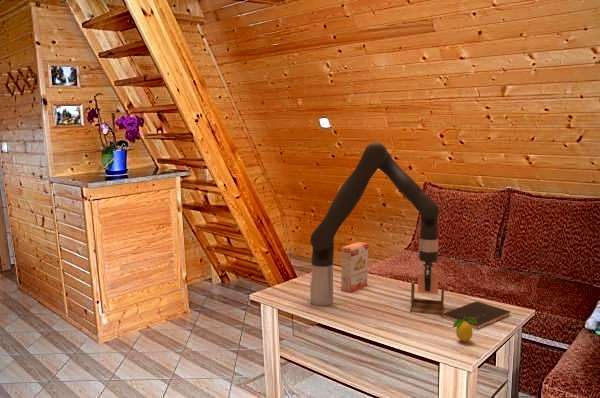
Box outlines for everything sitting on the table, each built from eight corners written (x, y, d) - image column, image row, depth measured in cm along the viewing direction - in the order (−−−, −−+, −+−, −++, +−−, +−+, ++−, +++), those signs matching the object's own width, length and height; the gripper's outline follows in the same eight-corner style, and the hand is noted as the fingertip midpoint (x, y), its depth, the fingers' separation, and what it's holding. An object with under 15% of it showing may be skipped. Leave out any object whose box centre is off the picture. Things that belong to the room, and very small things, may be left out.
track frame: (410, 312, 208) (410, 286, 207) (412, 302, 220) (412, 277, 218) (443, 315, 205) (443, 288, 203) (443, 304, 216) (444, 279, 214)
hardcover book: (510, 316, 203) (510, 311, 203) (476, 331, 190) (476, 325, 189) (475, 305, 216) (475, 300, 216) (441, 318, 202) (441, 313, 202)
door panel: (417, 292, 211) (418, 273, 210) (418, 290, 214) (418, 271, 212) (437, 294, 208) (438, 275, 207) (437, 291, 211) (438, 273, 210)
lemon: (476, 341, 180) (477, 314, 178) (470, 346, 175) (471, 319, 174) (458, 336, 184) (458, 310, 183) (451, 342, 179) (452, 314, 178)
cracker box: (351, 293, 232) (351, 248, 229) (340, 290, 236) (340, 246, 233) (368, 285, 243) (368, 242, 240) (357, 283, 247) (358, 241, 244)
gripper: (420, 244, 216) (419, 283, 219) (418, 252, 203) (417, 294, 205) (438, 245, 214) (437, 285, 216) (437, 253, 201) (436, 295, 203)
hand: (427, 289), depth 211 cm, fingers closed on door panel, 3 cm apart
